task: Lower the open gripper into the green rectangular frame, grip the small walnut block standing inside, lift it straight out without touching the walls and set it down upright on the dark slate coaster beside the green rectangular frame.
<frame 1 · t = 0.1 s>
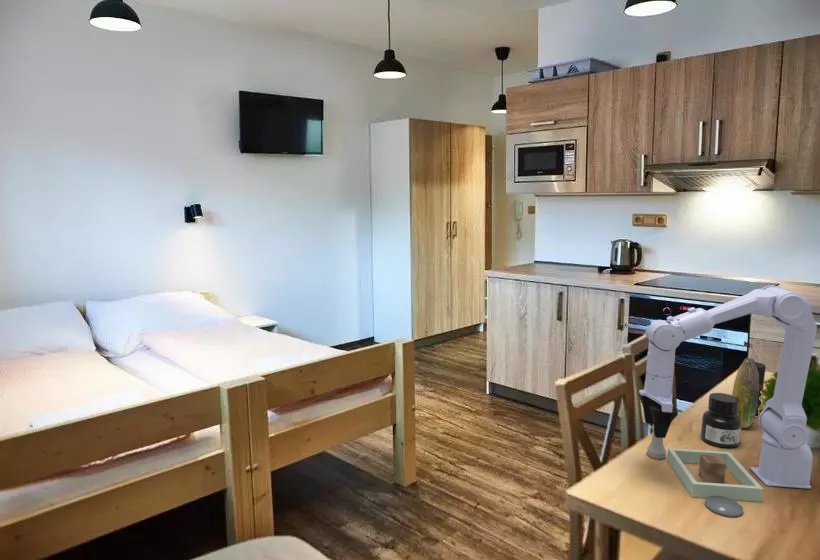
hand: (654, 430, 133), 10 cm above the table, tool pointing down, fingers open, 7 cm apart
coaster: (723, 507, 119), on the table
ink bottle: (719, 441, 151), on the table
rook chess piece: (655, 456, 142), on the table
green rectangular frame: (711, 479, 131), on the table
block: (712, 469, 130), in the green rectangular frame
deodorant: (748, 414, 169), on the table
vegetable: (741, 426, 160), on the table
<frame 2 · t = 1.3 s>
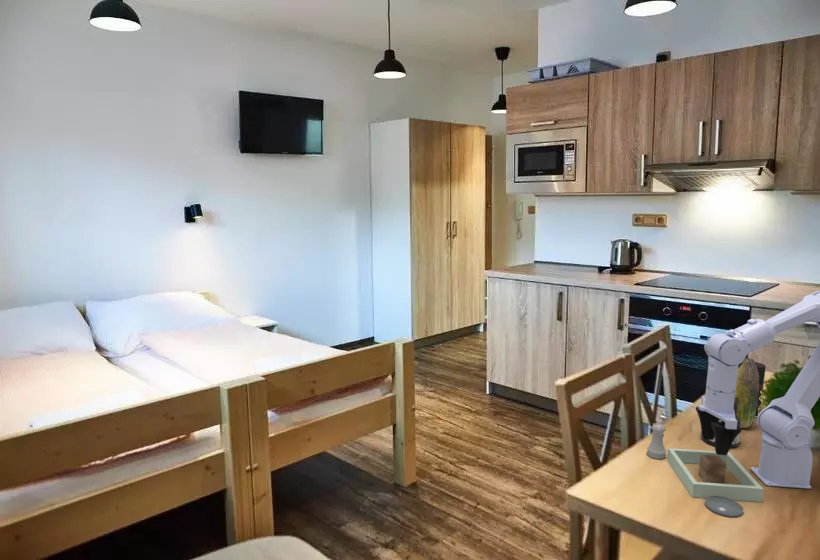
hand: (714, 446, 129), 8 cm above the table, tool pointing down, fingers open, 7 cm apart
nothing on the table moved.
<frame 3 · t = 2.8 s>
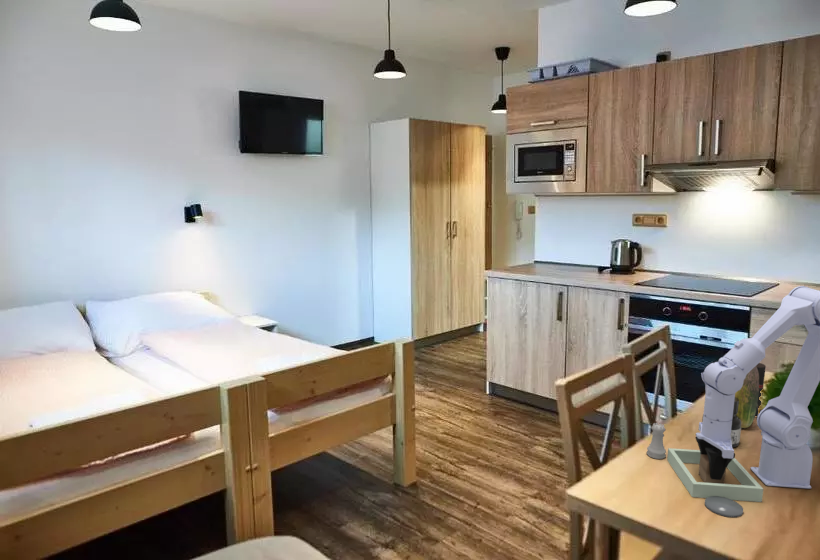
hand: (711, 473, 131), 1 cm above the table, tool pointing down, fingers closed on block, 4 cm apart
block: (712, 469, 130), in the green rectangular frame, touching gripper
everything else where it was.
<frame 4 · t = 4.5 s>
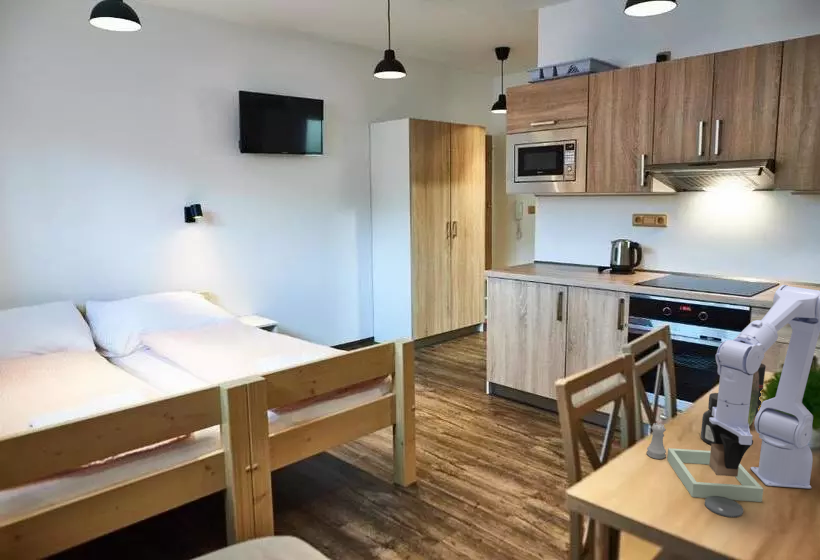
hand: (726, 462, 119), 9 cm above the table, tool pointing down, fingers closed on block, 4 cm apart
block: (724, 459, 119), point 10 cm above the table, touching gripper
everything else where it was.
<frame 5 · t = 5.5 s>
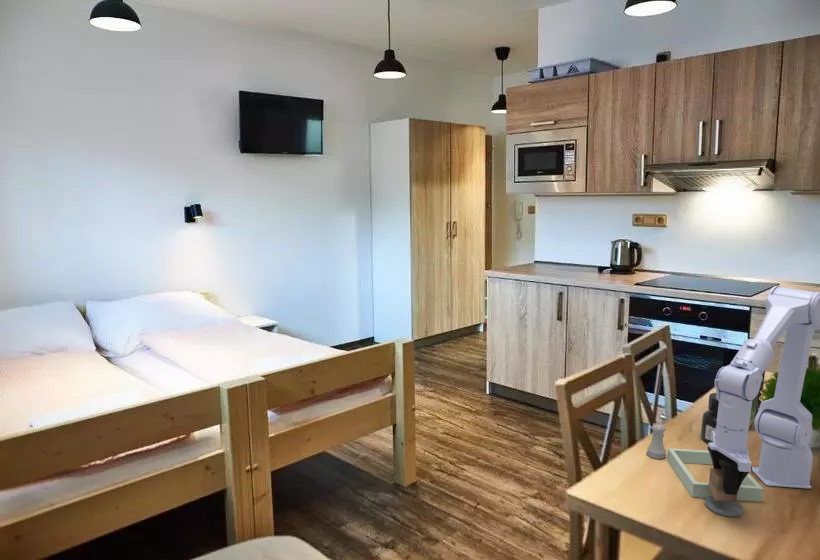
hand: (725, 487, 119), 4 cm above the table, tool pointing down, fingers closed on block, 4 cm apart
block: (723, 484, 119), point 5 cm above the table, touching gripper
everything else where it was.
when the fingers open (3 cm above the table, at t = 6.2 s): block stays where it is, resting on coaster.
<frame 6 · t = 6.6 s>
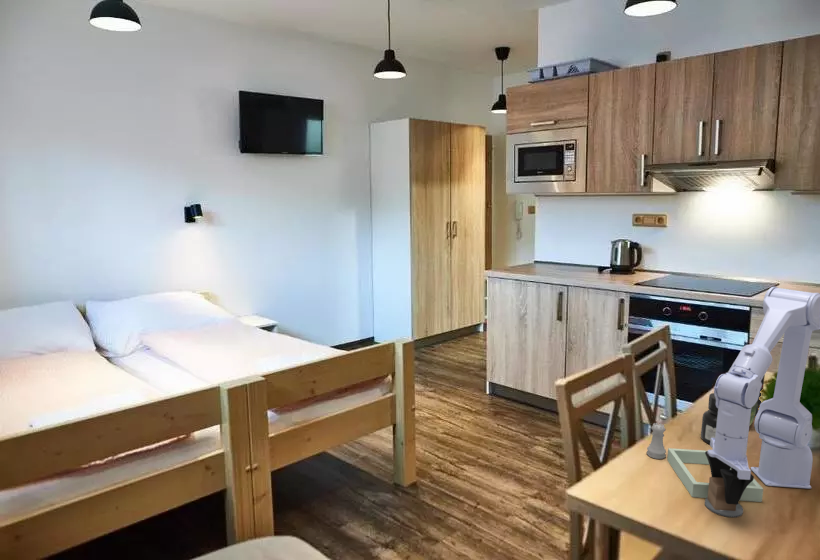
hand: (725, 494, 119), 3 cm above the table, tool pointing down, fingers open, 6 cm apart
block: (722, 493, 119), on the coaster, point 3 cm above the table
everything else where it was.
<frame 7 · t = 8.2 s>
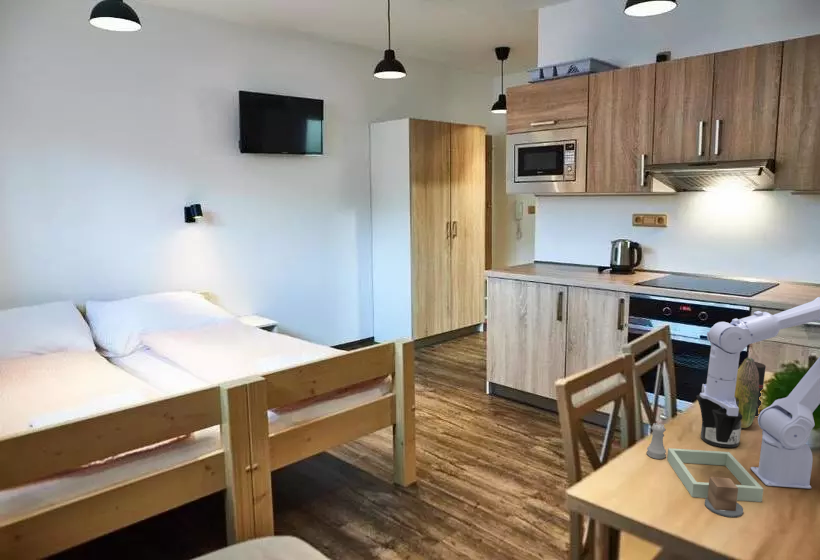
hand: (714, 434, 130), 10 cm above the table, tool pointing down, fingers open, 7 cm apart
nothing on the table moved.
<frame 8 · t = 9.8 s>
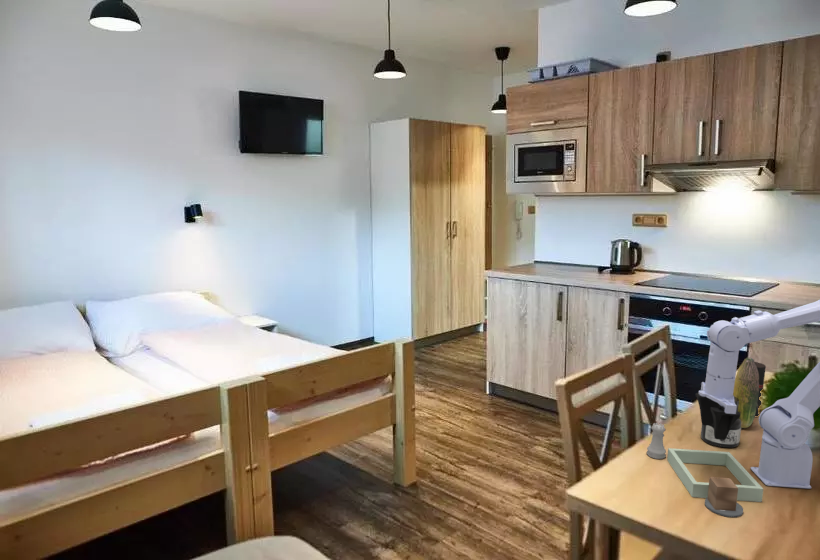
hand: (713, 431, 131), 10 cm above the table, tool pointing down, fingers open, 7 cm apart
nothing on the table moved.
at the end: block inside the target area on the coaster (0.5 cm from its centre), point 3.1 cm above the coaster's base; block tilted 0°; the gripper is holding nothing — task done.
